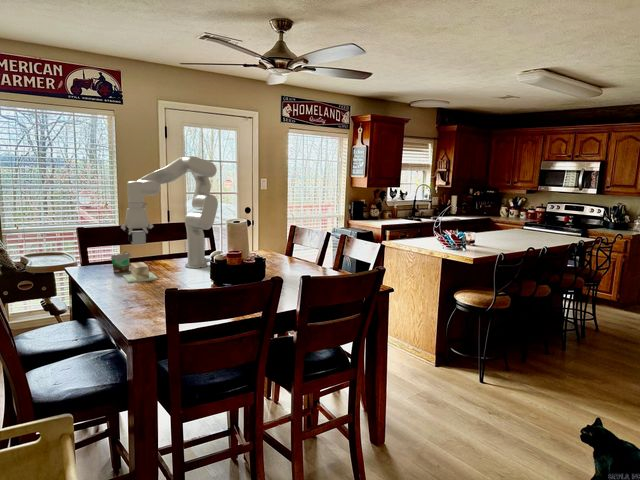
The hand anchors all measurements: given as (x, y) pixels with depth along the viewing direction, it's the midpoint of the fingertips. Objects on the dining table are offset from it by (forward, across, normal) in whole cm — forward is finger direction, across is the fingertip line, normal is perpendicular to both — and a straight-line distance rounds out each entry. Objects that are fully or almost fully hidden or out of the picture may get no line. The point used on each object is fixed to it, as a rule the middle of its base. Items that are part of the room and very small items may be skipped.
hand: (138, 241), depth 223 cm
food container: (+20, +4, -20) cm, 28 cm away
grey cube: (+1, 0, 0) cm, 1 cm away
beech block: (+18, 0, 0) cm, 18 cm away
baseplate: (+19, 0, 0) cm, 19 cm away
